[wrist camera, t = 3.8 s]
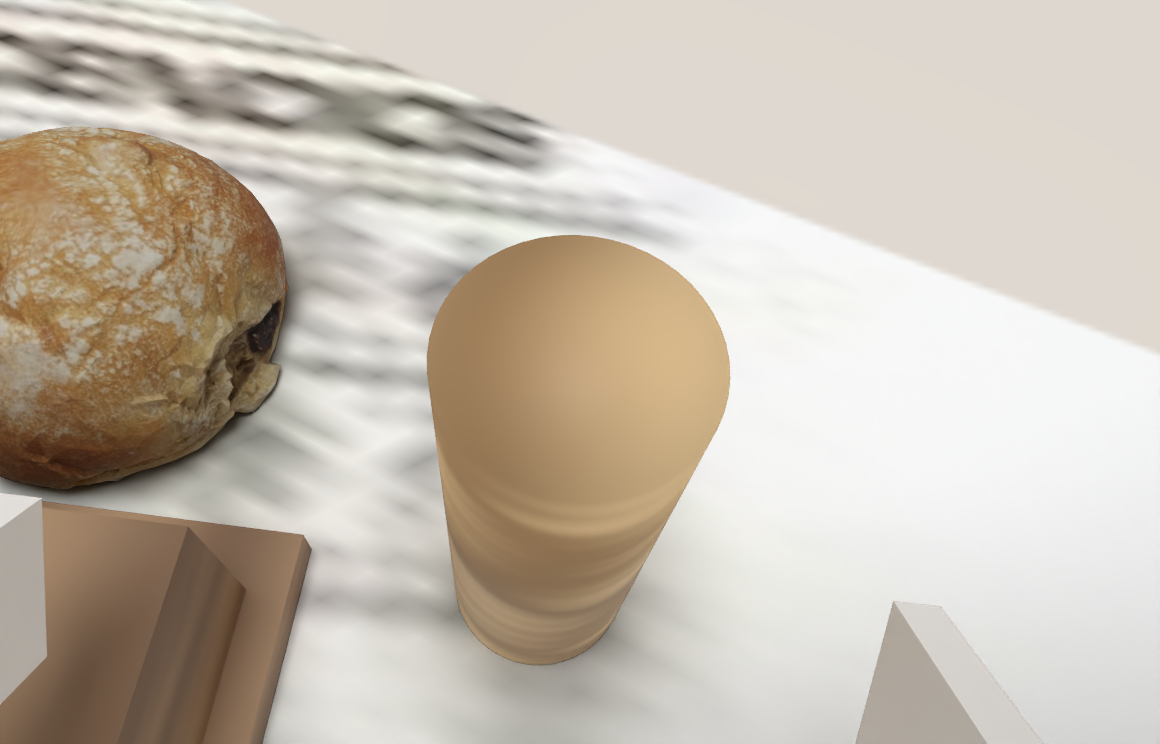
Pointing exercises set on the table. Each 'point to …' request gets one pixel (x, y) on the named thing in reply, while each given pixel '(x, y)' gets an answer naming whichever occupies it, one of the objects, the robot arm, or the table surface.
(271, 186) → the table surface
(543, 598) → the post
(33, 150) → the bread roll
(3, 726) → the base
